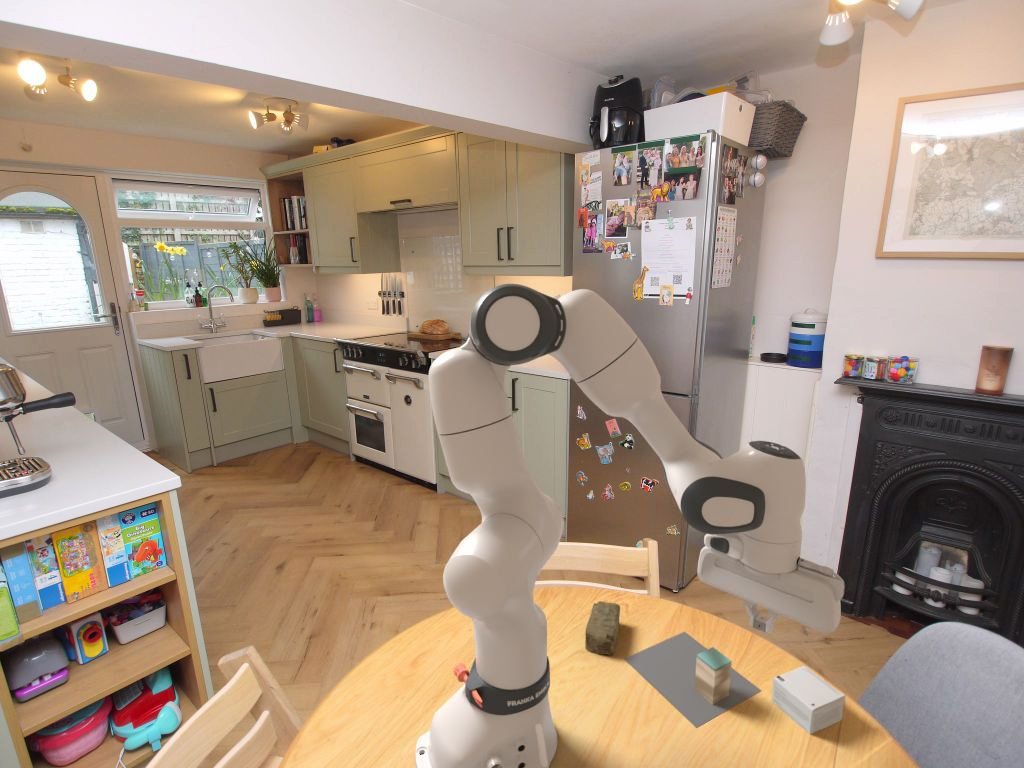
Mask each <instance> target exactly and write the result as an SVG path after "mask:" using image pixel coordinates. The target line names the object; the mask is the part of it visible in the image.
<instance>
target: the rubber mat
mask: <svg viewBox="0 0 1024 768" xmlns="http://www.w3.org/2000/svg"><path fill="white" fill-rule="evenodd" d="M708 649H709V648H707V647H705V646H704V645H703V644H701V643H700V642H699V641H698V640H696V639H695V638H694V637H692V636H691V635H690V634H688V633H687V632H686V631H683V632H681V633H678V634H676V635H674V636H671V637H669V638H667V639H665V640H663V641H660V642H658V643H655V644H654V645H652V646H651V645H650V647H647V648H645V649H642V650H640V651H637V652H635V653H634V654H631V655H630V656H629V655H628V656H627V657H624V658H623V660H625V662H626V663H628V665H629V666H630V667H632V668H633V669H634V671H636V672H637V674H639V675H640V676H641V677H642V678H643V679H644V680H645V681H647V683H649V685H650V686H652V688H654V689H655V690H656V691H657V692H658V693H659V694H660V695H661V696H662V697H663V698H664V699H665V700H666V701H667V702H668V703H669V704H670V705H671V706H673V707H674V708H675V709H676V710H677V711H678V712H679V713H680V714H681V716H684V718H685V719H686V720H687V721H688V722H689V723H691V725H693V726H694V727H695V729H697V728H699V727H701V726H703V725H704V724H706V723H707V722H710V721H711V720H713V719H715V718H716V717H718V716H721V715H722V714H724V713H725V712H728V711H729V710H731V709H732V708H734V707H736V706H737V705H739V704H741V703H744V701H746V700H748V699H749V698H752V697H753V696H755V695H757V694H759V693H760V692H762V689H760V688H759V687H758V686H756V685H755V684H754V683H752V682H751V681H750V680H748V679H747V678H746V677H744V676H743V675H742V674H741V673H740V672H738V671H737V670H735V669H734V668H733V667H731V674H730V687H729V696H728V697H726V698H724V699H722V700H720V701H719V702H717V703H715V704H713V705H712V704H711V703H710V702H709V701H708V700H707V699H705V698H704V697H703V696H702V695H701V694H700V693H699V692H697V691H696V690H695V675H696V660H697V654H699V653H701V652H704V651H706V650H708Z"/></svg>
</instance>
